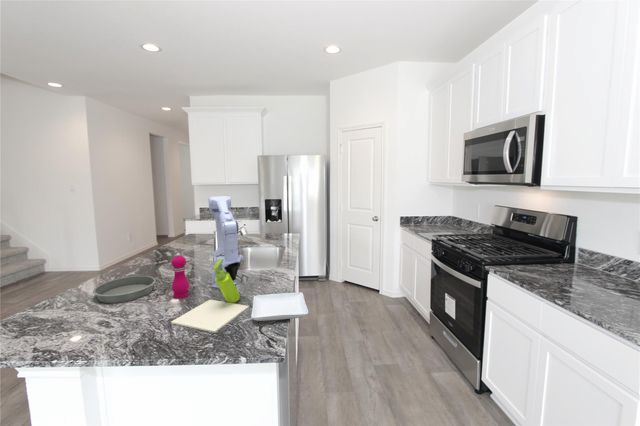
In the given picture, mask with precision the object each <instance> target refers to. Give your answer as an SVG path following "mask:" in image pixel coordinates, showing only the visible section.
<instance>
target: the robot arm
mask: <svg viewBox="0 0 640 426" xmlns="http://www.w3.org/2000/svg"><path fill="white" fill-rule="evenodd" d="M231 207H232V198H231V196H230V195H224V196H223V195H220V196H219V195H218V196H209V197H208V209H209V214H210V215H212V216H214V221H215V228H216V239H217V248H216V250H215V251H213V253H212V265H213V266H214V265H215V263H216V262H217V261H218V260H219V259H224V260H223V262H222V263H221V264H220V265H219V267H220V269H223V270H224V272H228V273H229V275H230V276H231V278H232V280H233V282H234V281H236V279H237V274H238V270H239V268H240V266H241V260H242V261H243V260H244V254H239V243H238V234H239V233H240V232H239V230H240V229H239V228H240V226H239V222H238V220H237V219H235V217H234V215H233V213H232V212H231ZM215 272H216V269H213V268H212V271H211V282H212V284H211V285H210V286H211V288H218V289H220V288H219V286H218V285H217V283H216V281H215V279H216V277H217V276H216V274H215ZM234 284H235V285H237V284H238V283H237V282H234Z"/></svg>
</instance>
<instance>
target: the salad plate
mask: <svg viewBox="0 0 640 426" xmlns="http://www.w3.org/2000/svg"><path fill="white" fill-rule="evenodd" d="M308 314H309V310H308V306H307V304H306V301H305V296H304V293H303V292H301V291H300V292H298V291H297V292H284V293H283V292H282V293H270V294H269V293H268V294H257V295H254V296H253V299H252V310H251V316H250V318H251V319H252V320H253V321H256V322H257V321H258V322H267V321H268V322H270V321H282V320H291V319H301V318H305V317H306V316H308Z"/></svg>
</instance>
